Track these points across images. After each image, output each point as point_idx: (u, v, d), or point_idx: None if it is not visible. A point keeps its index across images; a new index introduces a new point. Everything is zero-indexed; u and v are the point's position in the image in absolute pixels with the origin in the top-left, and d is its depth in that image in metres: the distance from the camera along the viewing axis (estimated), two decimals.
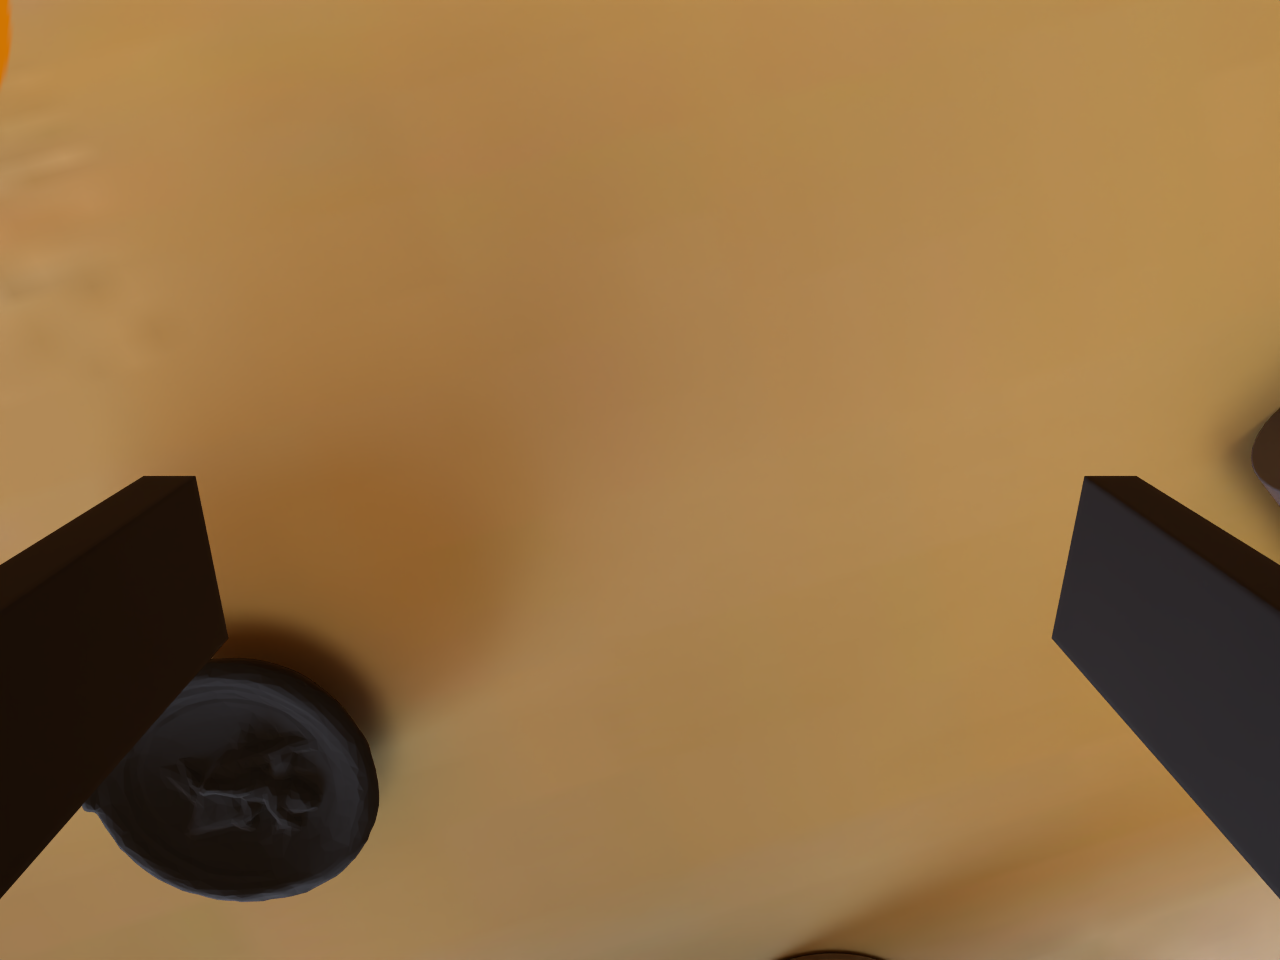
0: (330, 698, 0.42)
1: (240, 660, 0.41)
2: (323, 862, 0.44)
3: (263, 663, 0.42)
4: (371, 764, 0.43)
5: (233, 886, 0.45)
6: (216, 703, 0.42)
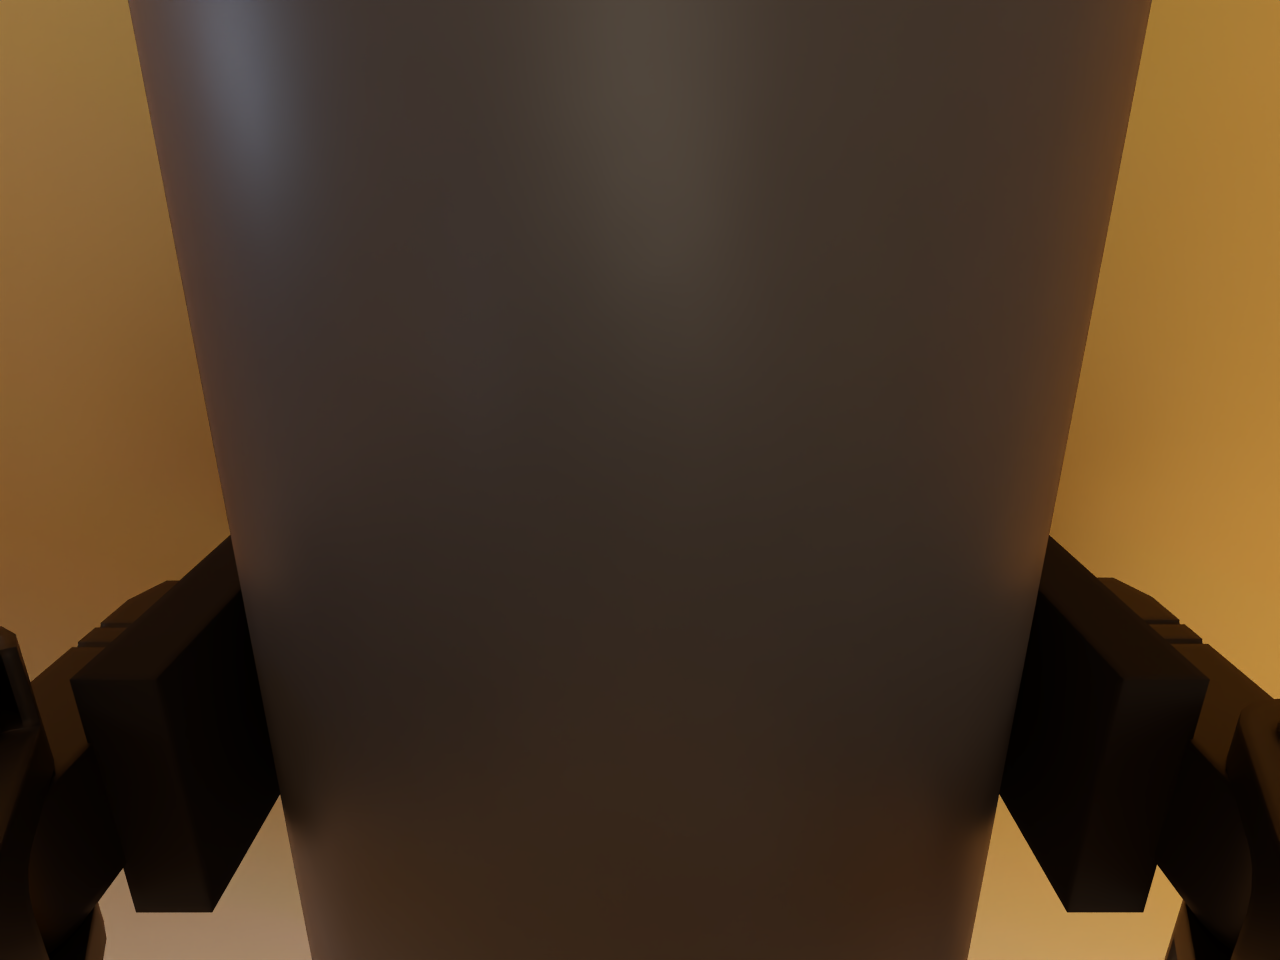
0: None
1: None
2: None
3: None
4: None
5: None
6: None
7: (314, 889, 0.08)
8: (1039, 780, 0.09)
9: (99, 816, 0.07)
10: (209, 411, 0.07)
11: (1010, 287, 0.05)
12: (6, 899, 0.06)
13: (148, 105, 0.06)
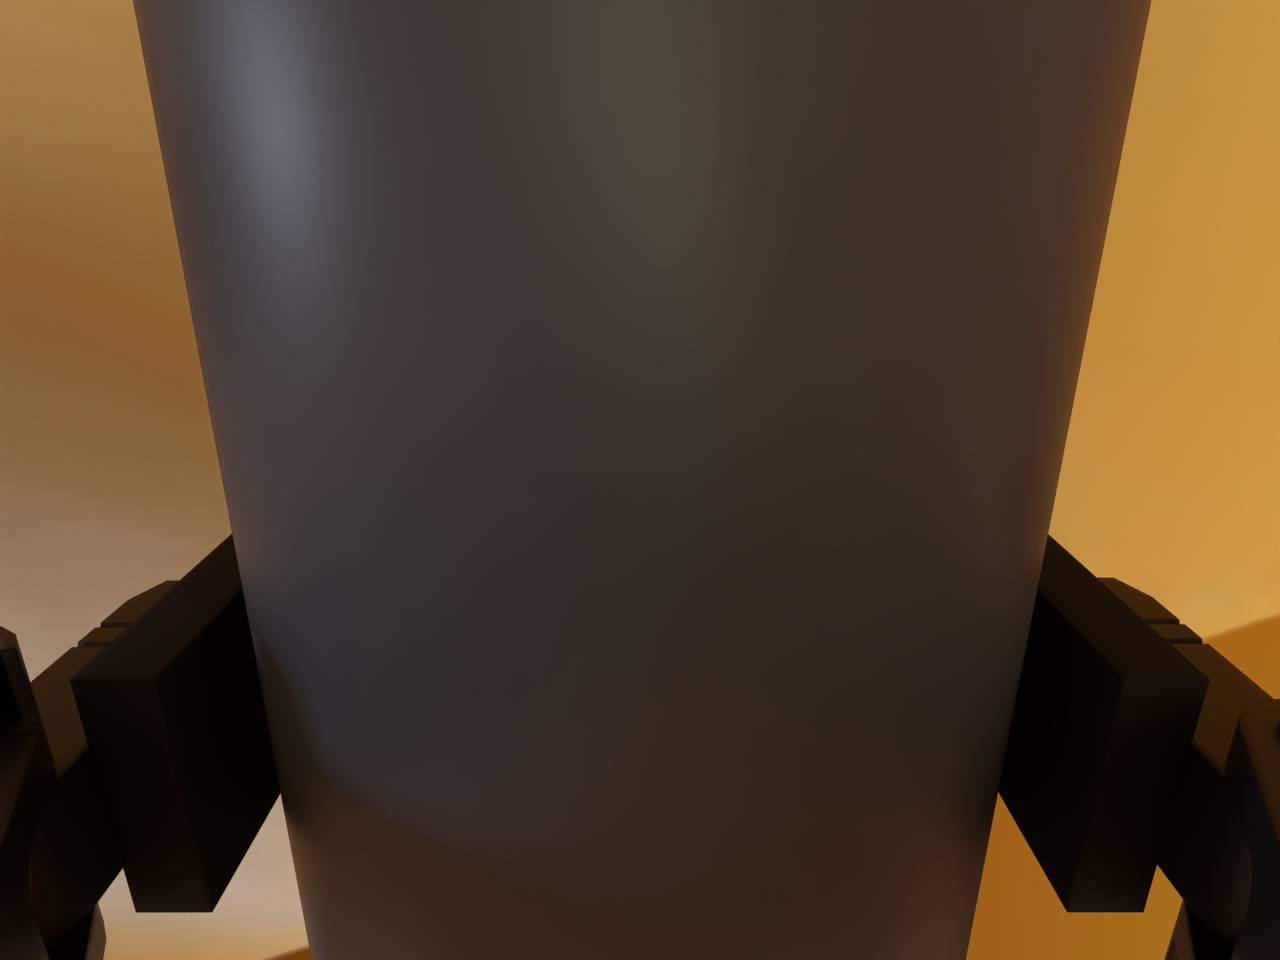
0: None
1: None
2: None
3: None
4: None
5: None
6: None
7: (313, 886, 0.08)
8: (1039, 780, 0.09)
9: (99, 816, 0.08)
10: (211, 408, 0.07)
11: (1009, 288, 0.05)
12: (5, 899, 0.06)
13: (152, 103, 0.06)
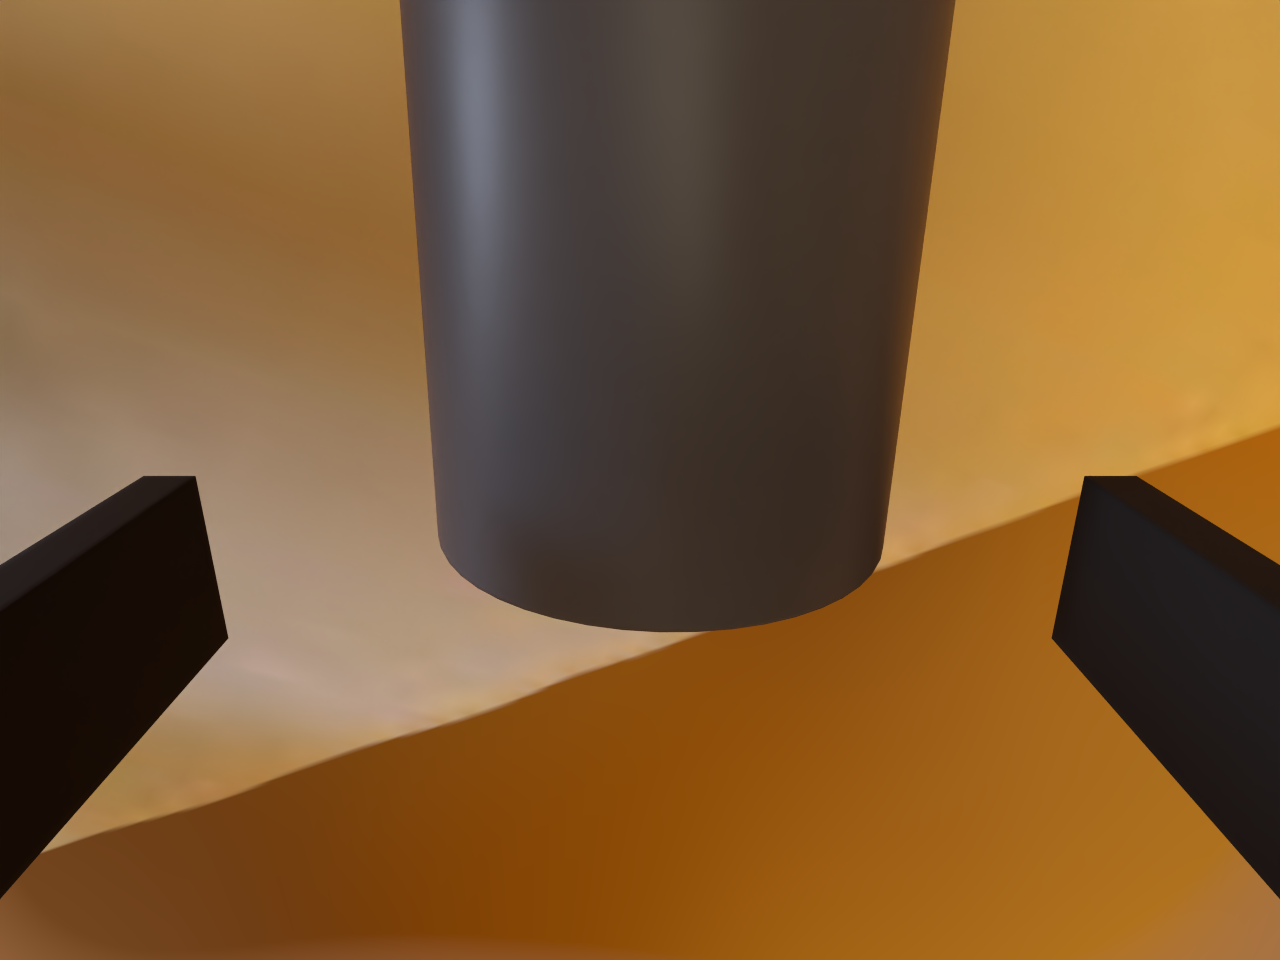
0: None
1: None
2: None
3: None
4: None
5: None
6: None
7: (459, 391, 0.12)
8: None
9: None
10: (418, 58, 0.11)
11: None
12: None
13: None
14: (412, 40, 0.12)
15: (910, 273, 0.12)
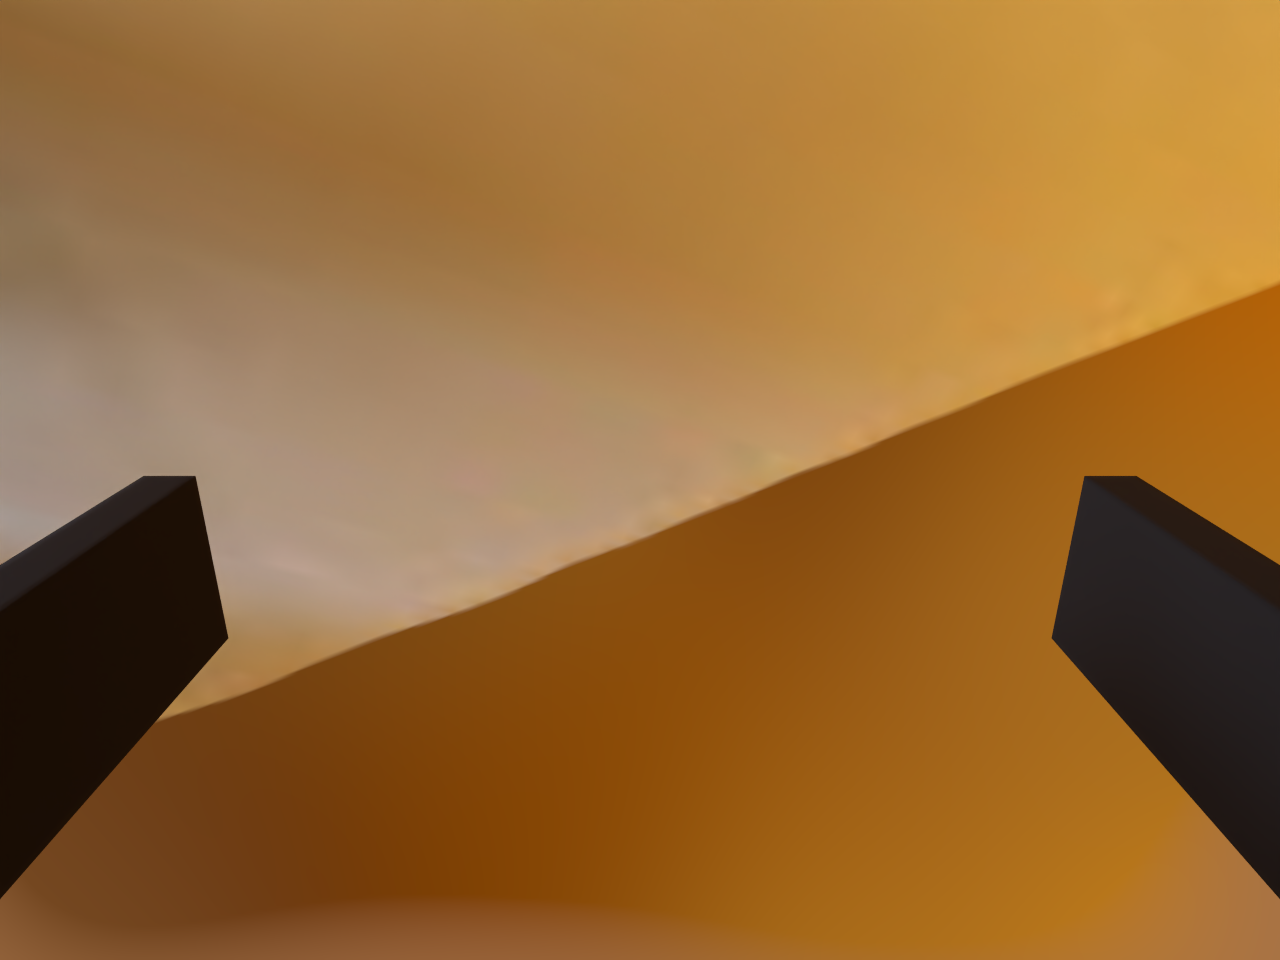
0: None
1: None
2: None
3: None
4: None
5: None
6: None
7: None
8: None
9: None
10: None
11: None
12: None
13: None
14: None
15: None
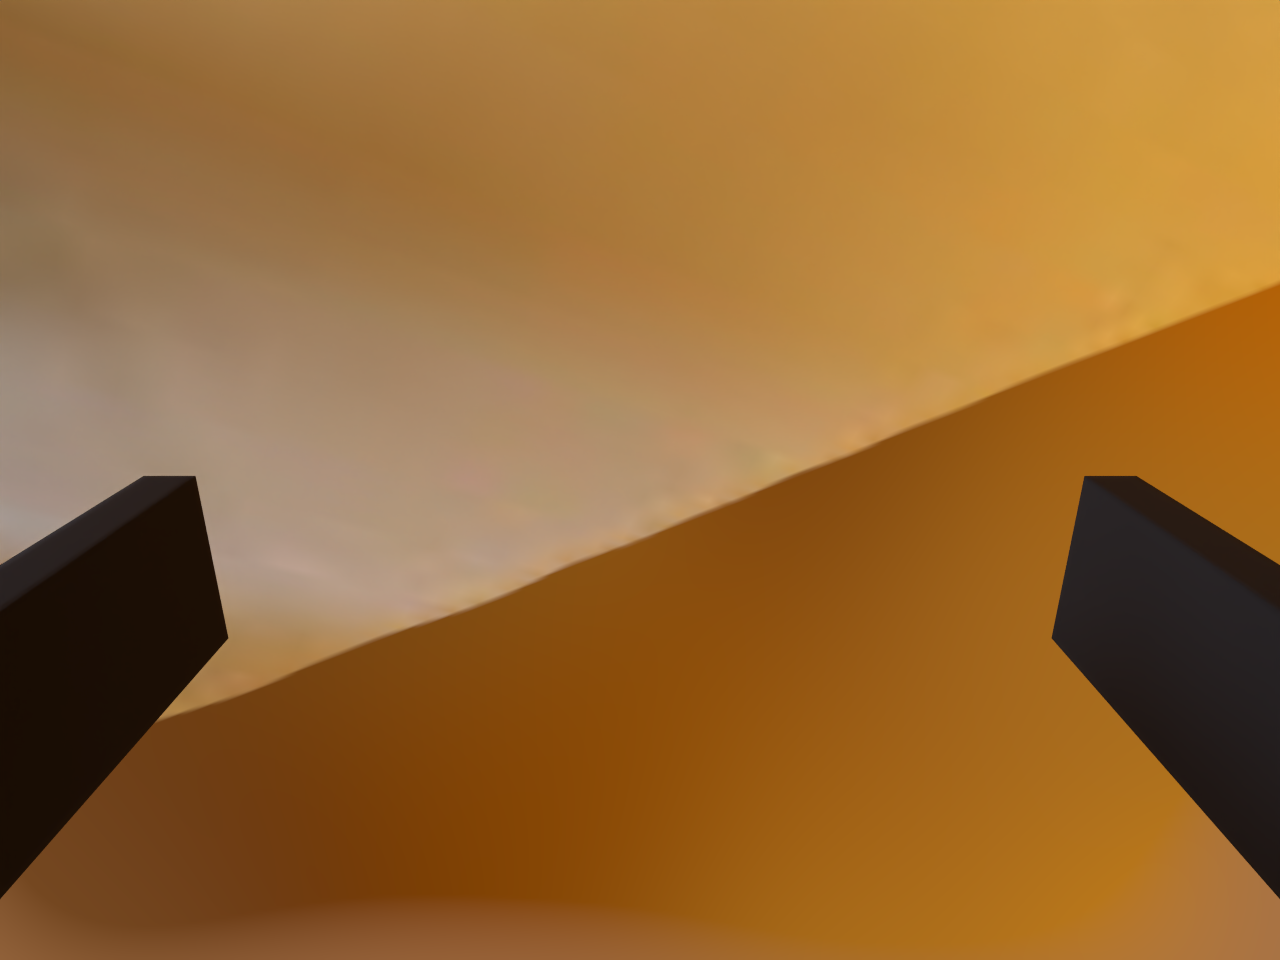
0: None
1: None
2: None
3: None
4: None
5: None
6: None
7: None
8: None
9: None
10: None
11: None
12: None
13: None
14: None
15: None
